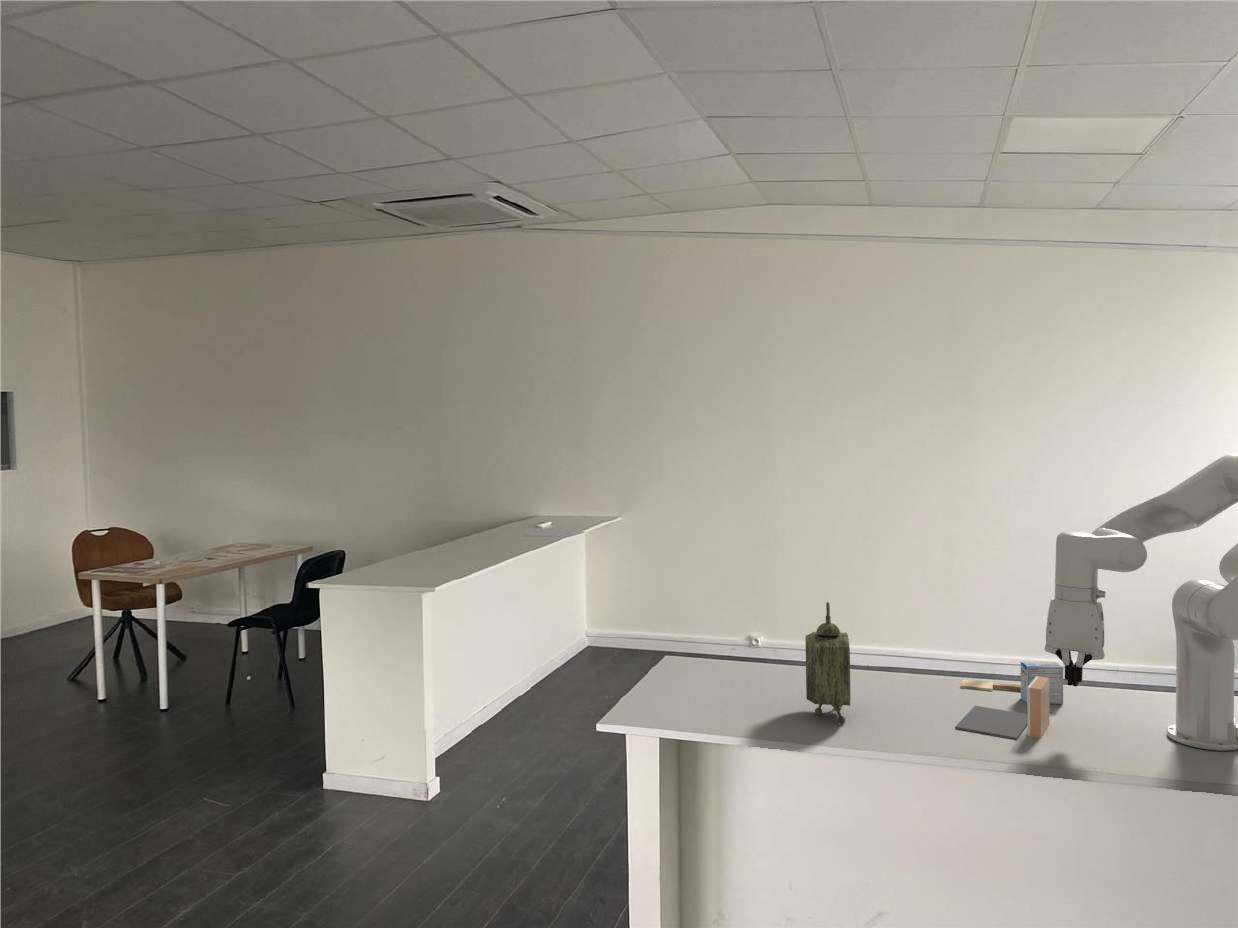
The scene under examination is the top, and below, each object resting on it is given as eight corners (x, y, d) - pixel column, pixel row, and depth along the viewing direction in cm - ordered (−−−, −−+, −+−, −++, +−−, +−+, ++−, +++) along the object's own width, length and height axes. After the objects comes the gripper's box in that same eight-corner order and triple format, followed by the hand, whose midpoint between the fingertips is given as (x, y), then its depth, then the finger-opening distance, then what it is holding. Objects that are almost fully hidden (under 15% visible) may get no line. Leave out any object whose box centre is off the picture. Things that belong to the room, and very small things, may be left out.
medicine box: (1056, 698, 200) (1056, 661, 200) (1063, 704, 196) (1063, 666, 196) (1020, 698, 201) (1020, 661, 201) (1027, 704, 197) (1027, 666, 196)
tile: (1049, 724, 184) (1049, 677, 183) (1041, 738, 176) (1040, 689, 176) (1036, 722, 185) (1036, 676, 185) (1027, 735, 178) (1027, 687, 177)
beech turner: (1039, 688, 207) (1039, 684, 207) (1039, 695, 202) (1039, 691, 202) (962, 681, 215) (962, 677, 215) (960, 688, 210) (960, 683, 210)
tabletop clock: (850, 727, 185) (849, 610, 184) (807, 725, 187) (805, 609, 185) (847, 705, 199) (845, 596, 198) (806, 703, 201) (804, 595, 200)
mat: (1033, 716, 189) (1033, 714, 189) (1017, 739, 176) (1017, 737, 176) (974, 707, 196) (974, 705, 196) (955, 728, 183) (955, 726, 183)
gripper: (1120, 595, 174) (1118, 686, 175) (1038, 586, 183) (1036, 673, 184) (1116, 601, 168) (1113, 696, 169) (1031, 592, 177) (1029, 682, 177)
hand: (1073, 684), depth 176 cm, fingers closed
